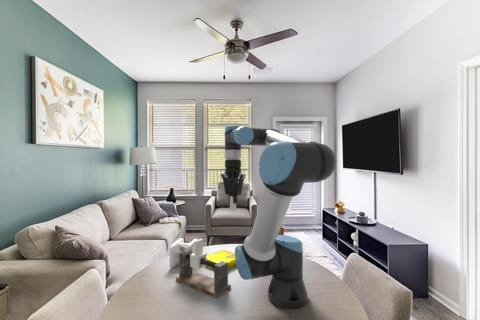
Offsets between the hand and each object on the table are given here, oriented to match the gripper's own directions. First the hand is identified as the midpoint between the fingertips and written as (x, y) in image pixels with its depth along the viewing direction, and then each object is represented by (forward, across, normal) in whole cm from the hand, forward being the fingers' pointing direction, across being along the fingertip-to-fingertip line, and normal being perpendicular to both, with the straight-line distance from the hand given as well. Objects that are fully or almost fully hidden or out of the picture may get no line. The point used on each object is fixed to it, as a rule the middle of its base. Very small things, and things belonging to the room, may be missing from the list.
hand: (233, 210), depth 112 cm
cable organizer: (+31, +29, +4) cm, 42 cm away
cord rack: (+30, +6, +14) cm, 34 cm away
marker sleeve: (+23, +8, +14) cm, 28 cm away
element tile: (+31, +13, -8) cm, 34 cm away
